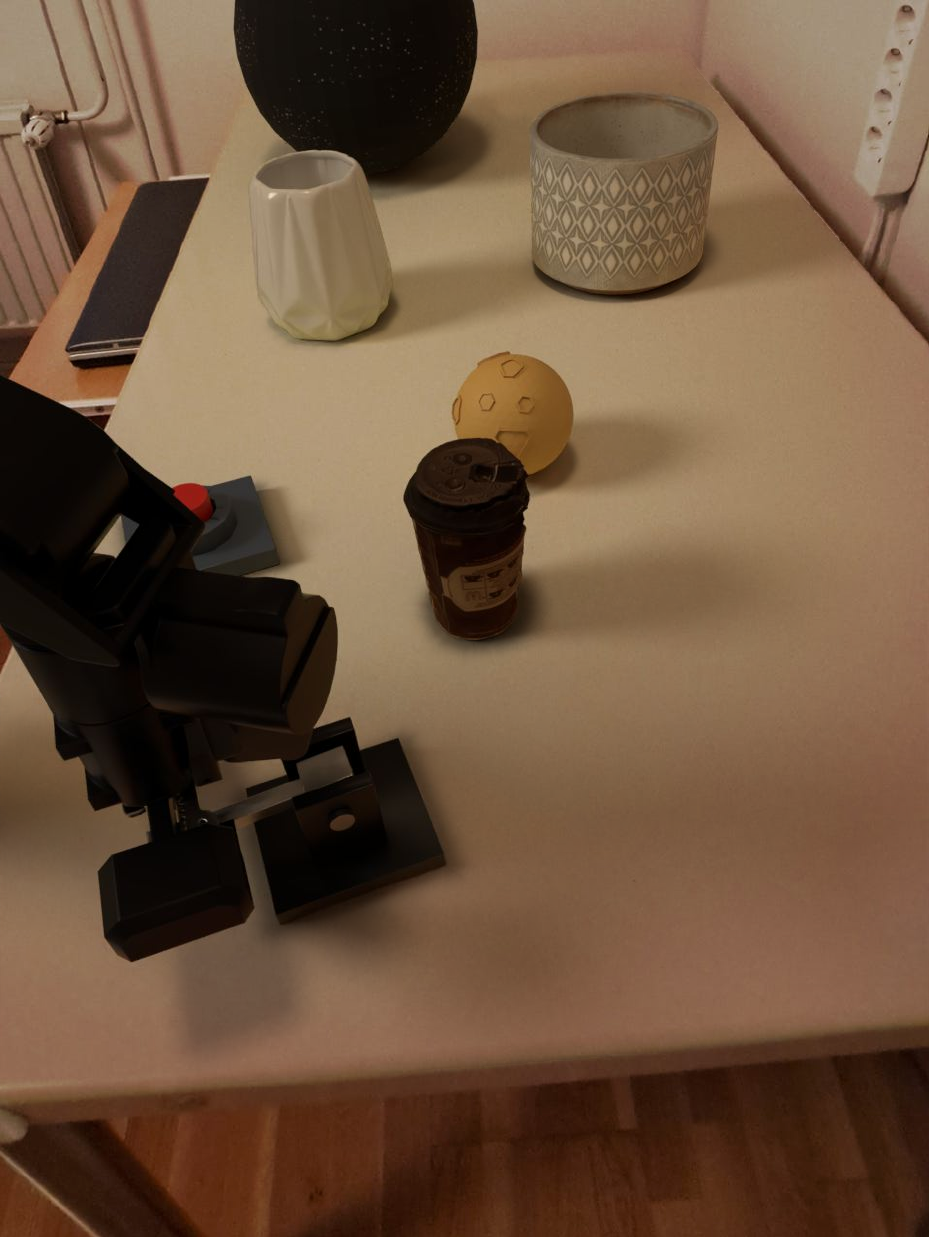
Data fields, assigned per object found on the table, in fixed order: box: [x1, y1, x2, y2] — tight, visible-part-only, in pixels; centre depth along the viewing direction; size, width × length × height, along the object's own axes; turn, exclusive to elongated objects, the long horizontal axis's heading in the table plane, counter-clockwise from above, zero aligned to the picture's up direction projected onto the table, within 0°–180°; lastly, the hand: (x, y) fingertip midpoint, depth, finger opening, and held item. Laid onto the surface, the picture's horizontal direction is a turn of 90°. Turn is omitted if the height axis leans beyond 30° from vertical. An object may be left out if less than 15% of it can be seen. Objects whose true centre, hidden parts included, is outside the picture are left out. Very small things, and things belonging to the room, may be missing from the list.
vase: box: [248, 150, 394, 342], centre depth 94 cm, size 14×14×15 cm
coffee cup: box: [402, 438, 531, 641], centre depth 64 cm, size 9×8×13 cm
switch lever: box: [174, 745, 355, 831], centre depth 52 cm, size 10×6×2 cm, turn 110°
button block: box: [120, 474, 281, 576], centre depth 75 cm, size 11×10×4 cm
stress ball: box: [451, 350, 574, 476], centre depth 77 cm, size 10×10×10 cm
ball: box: [233, 0, 479, 175], centre depth 117 cm, size 30×30×30 cm
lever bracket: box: [244, 716, 447, 926], centre depth 54 cm, size 10×9×7 cm
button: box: [172, 482, 213, 523], centre depth 73 cm, size 4×4×2 cm
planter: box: [529, 91, 719, 296], centre depth 99 cm, size 19×19×14 cm
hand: (198, 851), depth 53 cm, fingers closed on switch lever, 5 cm apart
